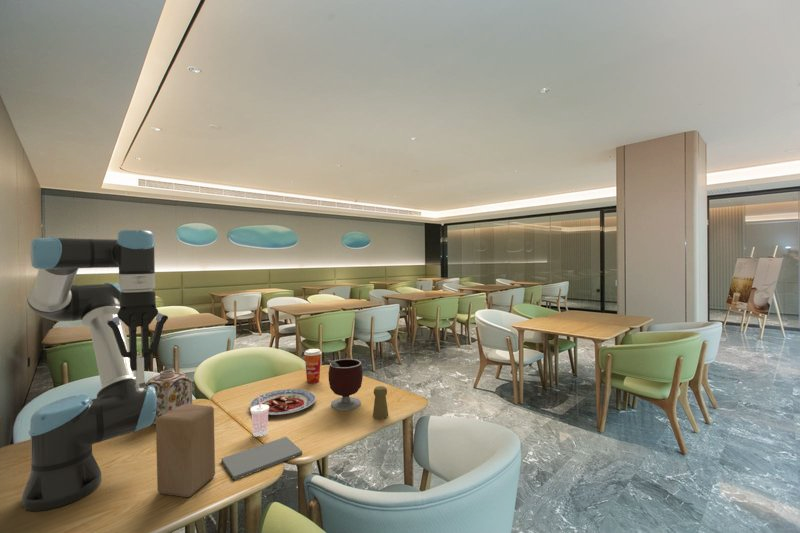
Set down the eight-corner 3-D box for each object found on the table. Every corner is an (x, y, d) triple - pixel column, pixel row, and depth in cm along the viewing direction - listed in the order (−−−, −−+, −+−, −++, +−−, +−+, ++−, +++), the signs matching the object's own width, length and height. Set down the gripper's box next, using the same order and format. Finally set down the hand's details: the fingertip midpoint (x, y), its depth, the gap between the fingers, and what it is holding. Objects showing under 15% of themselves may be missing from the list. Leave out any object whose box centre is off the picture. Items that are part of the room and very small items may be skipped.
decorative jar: (141, 423, 134) (140, 374, 134) (169, 410, 146) (168, 365, 145) (167, 427, 131) (166, 377, 131) (193, 413, 142) (192, 368, 142)
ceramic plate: (279, 425, 132) (279, 417, 132) (236, 410, 146) (236, 402, 146) (328, 401, 154) (328, 394, 154) (287, 390, 168) (287, 383, 168)
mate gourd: (350, 395, 161) (350, 350, 160) (369, 404, 150) (369, 356, 150) (319, 404, 150) (318, 356, 150) (337, 415, 140) (336, 363, 140)
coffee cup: (301, 383, 176) (301, 352, 176) (308, 377, 184) (308, 348, 184) (318, 384, 175) (317, 353, 174) (324, 378, 183) (324, 348, 183)
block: (189, 499, 92) (187, 420, 91) (155, 494, 94) (153, 417, 93) (216, 476, 102) (215, 405, 101) (185, 472, 104) (184, 402, 103)
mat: (233, 480, 100) (233, 476, 100) (221, 461, 109) (221, 458, 109) (302, 454, 113) (302, 451, 113) (286, 439, 122) (286, 436, 122)
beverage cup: (270, 428, 130) (270, 389, 129) (268, 436, 124) (267, 395, 123) (252, 430, 128) (251, 390, 128) (249, 438, 122) (248, 397, 122)
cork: (391, 415, 140) (391, 386, 140) (380, 420, 136) (380, 391, 135) (380, 410, 144) (380, 383, 144) (369, 415, 140) (369, 387, 139)
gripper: (106, 293, 86) (109, 392, 87) (170, 289, 95) (172, 379, 96) (103, 291, 92) (106, 384, 92) (164, 288, 101) (166, 373, 101)
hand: (140, 381), depth 94 cm, fingers closed
